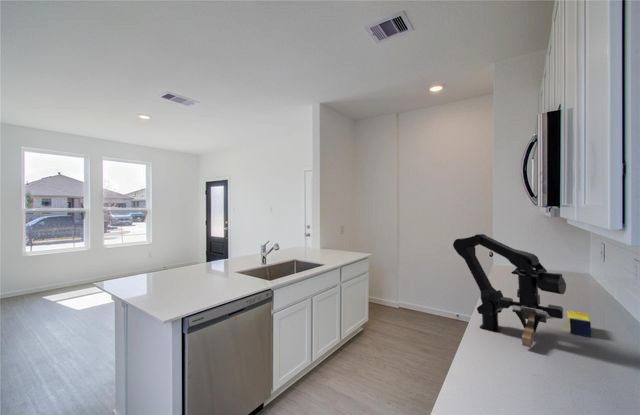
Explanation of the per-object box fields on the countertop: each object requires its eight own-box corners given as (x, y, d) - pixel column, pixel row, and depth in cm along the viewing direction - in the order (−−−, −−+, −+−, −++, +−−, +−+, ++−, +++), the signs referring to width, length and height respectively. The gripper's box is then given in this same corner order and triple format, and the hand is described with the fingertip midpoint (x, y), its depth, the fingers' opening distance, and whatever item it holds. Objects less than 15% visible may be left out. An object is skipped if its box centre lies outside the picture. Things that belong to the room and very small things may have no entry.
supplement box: (569, 333, 105) (567, 324, 113) (591, 337, 101) (587, 328, 109) (569, 318, 105) (567, 310, 113) (590, 321, 101) (587, 313, 109)
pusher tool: (539, 349, 91) (538, 338, 90) (514, 343, 96) (513, 332, 95) (546, 321, 105) (545, 311, 105) (524, 317, 110) (523, 307, 110)
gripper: (563, 287, 99) (565, 330, 98) (503, 279, 112) (505, 317, 112) (561, 294, 91) (563, 341, 90) (496, 285, 104) (498, 325, 104)
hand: (530, 330), depth 99 cm, fingers closed on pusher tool, 2 cm apart
